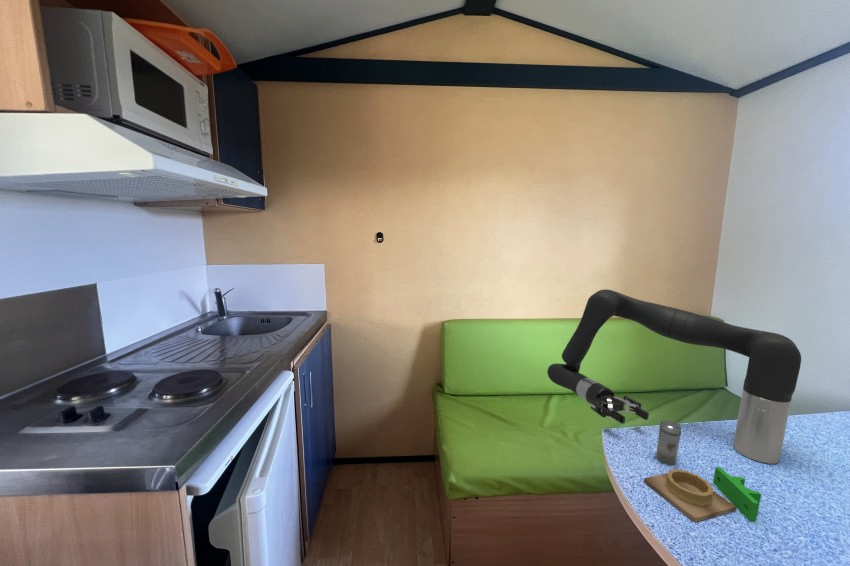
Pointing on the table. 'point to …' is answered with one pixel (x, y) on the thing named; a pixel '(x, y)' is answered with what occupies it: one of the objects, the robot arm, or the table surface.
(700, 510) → the ring seat
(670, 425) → the grey lidded jar
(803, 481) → the table surface
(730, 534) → the table surface
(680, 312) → the robot arm
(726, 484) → the green bracket
